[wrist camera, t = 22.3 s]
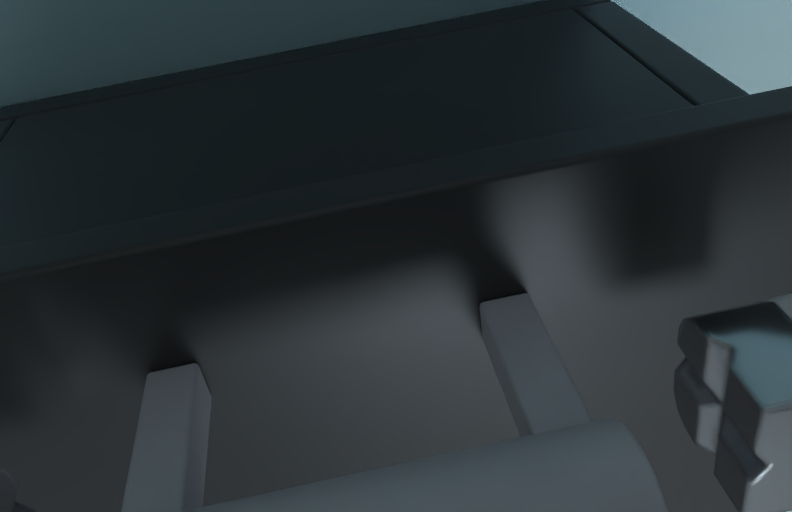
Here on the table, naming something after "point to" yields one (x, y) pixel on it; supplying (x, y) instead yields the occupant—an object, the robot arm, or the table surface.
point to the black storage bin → (335, 113)
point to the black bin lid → (402, 330)
